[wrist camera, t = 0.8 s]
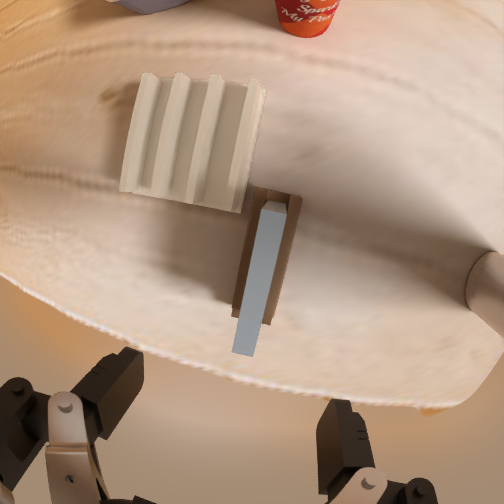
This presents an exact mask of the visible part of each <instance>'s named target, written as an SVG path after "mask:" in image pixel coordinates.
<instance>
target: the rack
mask: <svg viewBox="0 0 504 504" xmlns="http://www.w3.org/2000/svg"><path fill="white" fill-rule="evenodd" d="M266 92H267V88H266V87H264V86H260V82H259V79H256V78H250V81H249V84H242V83H234V82H224V81H223V79H222V78H221V76H220V75H219V74H211V77H210V80H199V79H189V78H188V77H187V76H186V75H185V74H184V73H183V72H175V76H174V78H157V77H155V76H154V75H153V74H151V73H150V72H147V73H143V75H142V79H141V82H140V86H139V89H138V93H137V97H136V101H135V105H134V109H133V114H132V118H131V122H130V127H129V132H128V137H127V142H126V147H125V153H124V159H123V165H122V171H121V178H120V186H119V191H121V192H131V191H132V193H133V194H139V195H145V196H150V197H155V198H162V199H167V200H173V201H178V202H183V203H188V204H194V205H199V206H204V207H209V208H214V209H219V210H224V211H229V212H234V213H239V214H240V213H242V208H243V203H244V198H245V193H246V188H247V183H248V178H249V173H250V168H251V163H252V159H253V154H254V149H255V144H256V139H257V134H258V130H259V125H260V120H261V116H262V111H263V106H264V102H265V97H266Z"/></svg>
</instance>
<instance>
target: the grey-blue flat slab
mask: <svg viewBox="0 0 504 504" xmlns="http://www.w3.org/2000/svg"><path fill="white" fill-rule="evenodd" d="M286 216H287V211H286V204H285V203H281V202H276V201H271V200H268V201H267V203H266V204H265V205H264V206H263V208H262V209H261V213H260V218H259V223H258V228H257V233H256V238H255V242H254V247H253V252H252V257H251V262H250V267H249V271H248V276H247V281H246V286H245V291H244V296H243V300H242V305H241V310H240V315H239V320H238V324H237V329H236V334H235V339H234V344H233V349H232V352H233V353H237V354H242V355H246V356H251V357H253V354H254V350H255V346H256V342H257V338H258V334H259V331H260V327H261V323H262V319H263V314H264V310H265V306H266V302H267V298H268V294H269V290H270V286H271V282H272V277H273V273H274V269H275V265H276V260H277V256H278V252H279V247H280V243H281V239H282V234H283V230H284V225H285V221H286Z"/></svg>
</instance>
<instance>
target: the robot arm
mask: <svg viewBox="0 0 504 504" xmlns="http://www.w3.org/2000/svg"><path fill="white" fill-rule="evenodd" d="M465 293H466V302H467V305H468V307H469V308H470V309H471V310H472V311H473V312H474V313H475V314H476V315H478V316H479V317H480V318H481V319H482V320H484V321H485V322H486V323H487V324H488V325H489V326H490V327H491V328H493V329H494V330H495V331H496V332H497V333H498V334H499V335H501V336H502V337H503V338H504V255H502V254H500V253H497V252H489V253H486V254H485V255H483V256H482V257H481V258H480V259H479V260H478V261H477V262H476V264H475V265H474V267H473V268H472V270H471V272H470V275H469V277H468V280H467V284H466V291H465ZM143 382H144V359H143V353H142V352H140V351H137V350H135V349H132V348H129V347H125V348H124V349H123V350H122V351H121V352H120V353H119V354H118V355H116V354H114V353H112V354H110V355H107V356H106V357H103V358H102V359H101V360H100V361H99V362H98V363H97V364H96V366H94V367H93V368H92V369H91V371H90V372H88V373H87V374H86V375H85V377H84V378H83V379H82V380H81V381H80V382H79V383H78V384H77V385H76V386H75V387H74V388H73V389H72V390H71V391H70V392H65V391H63V392H58V393H55V394H54V395H52V396H50V395H46V394H43V393H39V392H36V391H34V390H33V387H32V385H31V383H30V382H29V381H28V380H26V379H24V378H20V377H17V378H12V379H10V380H8V381H7V382H6V383H5V384H4V385H3V386H2V387H1V388H0V504H15V502H14V497H13V494H12V491H13V490H14V488H15V486H16V485H17V483H18V482H19V480H20V479H21V477H22V476H23V474H24V473H25V471H26V470H27V469H28V467H29V466H30V464H31V463H32V461H33V460H34V458H35V457H36V456H37V454H38V453H39V451H40V450H41V448H42V447H43V446H44V444H45V443H46V442H49V446H46V447H45V457H46V467H47V476H48V483H49V489H50V495H51V501H52V504H156V503H153V502H151V501H148V500H145V499H143V498H140V497H138V496H134V498H133V500H125V499H110V497H109V494H108V491H107V488H106V486H105V483H104V480H103V477H102V473H101V469H100V465H99V461H98V456H97V452H96V447H95V443H94V442H95V440H96V439H97V437H98V436H99V437H101V438H103V439H105V440H107V439H108V438H109V436H110V435H111V433H112V432H113V430H114V429H115V427H116V426H117V424H118V423H119V421H120V420H121V418H122V417H123V415H124V414H125V412H126V411H127V409H128V408H129V406H130V405H131V404H132V402H133V401H134V399H135V398H136V396H137V395H138V393H139V392H140V390H141V388H142V385H143ZM368 439H369V437H368V433H367V429H366V425H365V421H364V420H363V418H362V417H361V416H360V414H359V413H356V412H352V407H351V403H350V401H349V400H342V399H331V400H330V401H329V403H328V405H327V407H326V409H325V411H324V413H323V415H322V416H321V418H320V420H319V422H318V425H317V429H316V441H317V459H318V460H317V461H318V487H319V488H318V489H319V494H323V495H328V501H327V502H326V503H325V504H438V502H437V497H436V493H435V489H434V486H433V485H432V483H431V482H430V481H428V480H427V479H424V478H414V479H412V480H411V481H409V482H408V483H407V484H404V483H398V482H393V481H389V480H387V479H386V476H385V475H384V474H383V473H382V472H381V471H380V470H378V469H376V468H375V464H374V459H373V455H372V451H371V446H370V442H369V440H368Z"/></svg>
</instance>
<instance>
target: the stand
mask: <svg viewBox="0 0 504 504" xmlns="http://www.w3.org/2000/svg"><path fill="white" fill-rule="evenodd" d="M268 200H271V201H276V202H281V203H285V204H286V211H287V216H286V221H285V225H284V230H283V234H282V239H281V243H280V247H279V252H278V256H277V260H276V265H275V269H274V273H273V277H272V282H271V286H270V290H269V294H268V298H267V302H266V306H265V310H264V314H263V319H262V324H267V325H270V324H271V320H272V317H273V318H274V314H275V310H276V306H277V302H278V298H279V295H280V291H281V287H282V283H283V279H284V275H285V271H286V267H287V263H288V259H289V254H290V250H291V246H292V242H293V238H294V233H295V229H296V225H297V220H298V216H299V212H300V207H301V203H302V197H299V196H294V195H290V194H285V193H281V192H276V191H272V190H267V189H262V188H257V187H255V192H254V197H253V202H252V207H251V212H250V217H249V222H248V227H247V232H246V237H245V242H244V247H243V252H242V257H241V262H240V267H239V273H238V278H237V283H236V288H235V293H234V298H233V304H232V308H233V309H232V315H231V316H232V317H236V318H239V315H240V310H241V305H242V300H243V296H244V291H245V286H246V281H247V276H248V271H249V267H250V262H251V257H252V252H253V247H254V242H255V238H256V233H257V228H258V223H259V218H260V213H261V209H262V208H263V206H264V205H265V204H266V203H267V201H268Z"/></svg>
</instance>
